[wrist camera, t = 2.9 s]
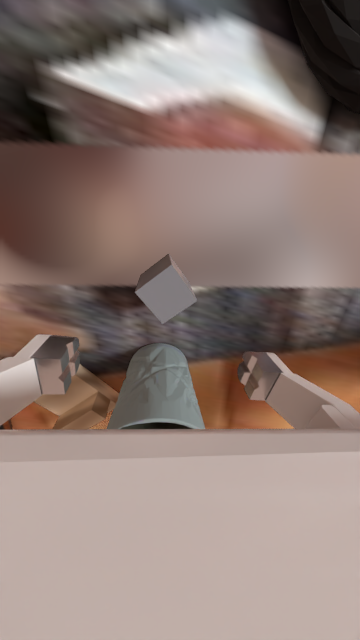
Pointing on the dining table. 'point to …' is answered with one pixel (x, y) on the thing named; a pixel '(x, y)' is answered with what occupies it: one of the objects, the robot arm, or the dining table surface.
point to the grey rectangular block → (165, 289)
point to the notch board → (81, 401)
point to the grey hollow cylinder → (157, 392)
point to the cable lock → (331, 45)
